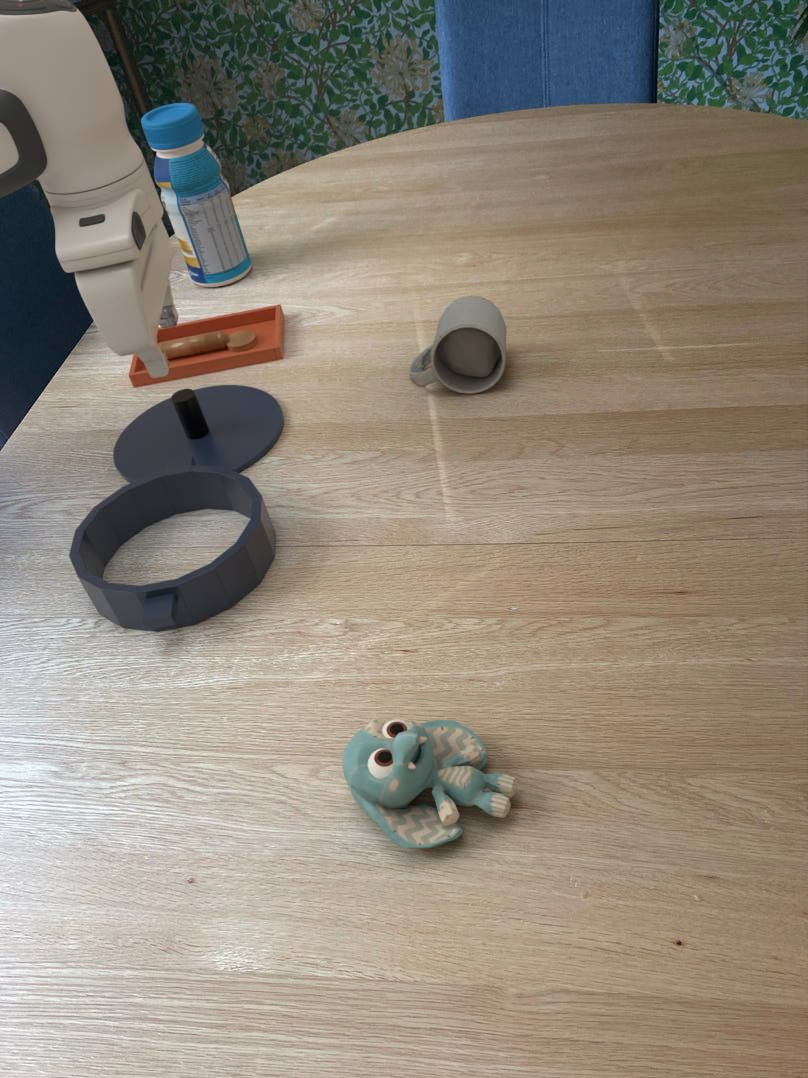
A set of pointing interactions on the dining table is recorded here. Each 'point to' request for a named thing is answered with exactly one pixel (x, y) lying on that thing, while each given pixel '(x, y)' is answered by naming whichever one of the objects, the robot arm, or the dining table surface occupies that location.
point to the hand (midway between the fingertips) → (166, 347)
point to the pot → (156, 502)
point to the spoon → (209, 343)
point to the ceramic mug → (465, 348)
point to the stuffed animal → (421, 778)
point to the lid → (201, 431)
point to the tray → (266, 350)
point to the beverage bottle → (196, 196)
